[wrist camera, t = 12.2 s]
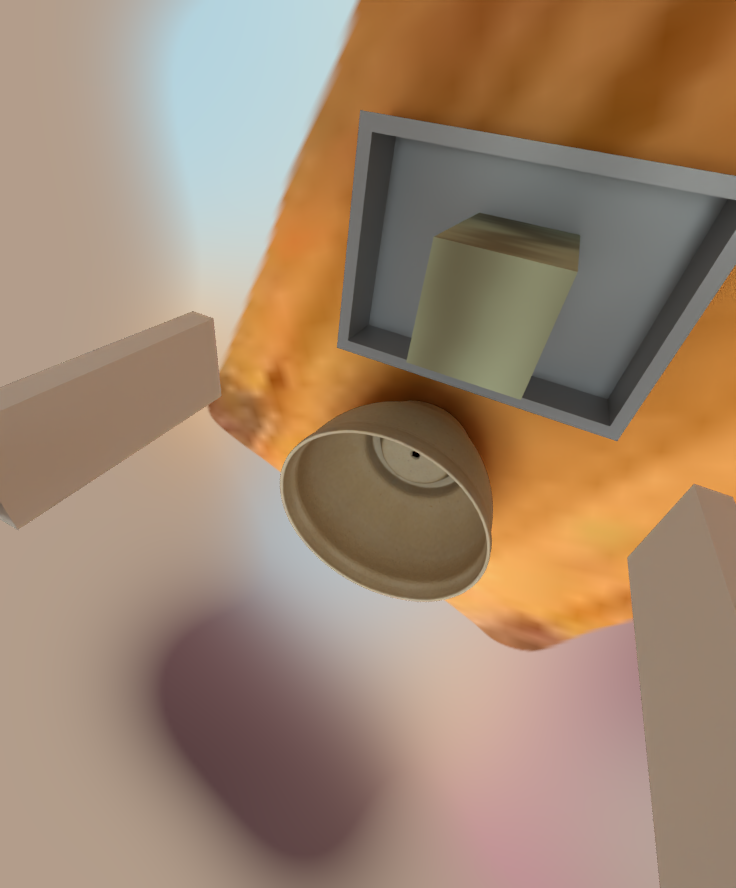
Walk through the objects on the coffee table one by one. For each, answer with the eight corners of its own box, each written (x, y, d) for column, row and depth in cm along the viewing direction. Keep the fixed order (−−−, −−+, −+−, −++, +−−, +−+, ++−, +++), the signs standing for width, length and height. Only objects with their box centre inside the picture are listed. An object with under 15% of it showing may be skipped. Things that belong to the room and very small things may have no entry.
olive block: (580, 235, 23) (577, 272, 16) (538, 333, 27) (520, 399, 20) (479, 212, 25) (433, 236, 17) (453, 308, 29) (406, 362, 21)
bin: (754, 180, 20) (788, 185, 17) (613, 407, 28) (617, 441, 25) (391, 116, 25) (360, 110, 21) (362, 328, 33) (337, 347, 30)
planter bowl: (323, 457, 43) (262, 526, 35) (377, 327, 33) (308, 384, 24) (454, 539, 42) (422, 631, 34) (555, 431, 31) (544, 527, 23)
